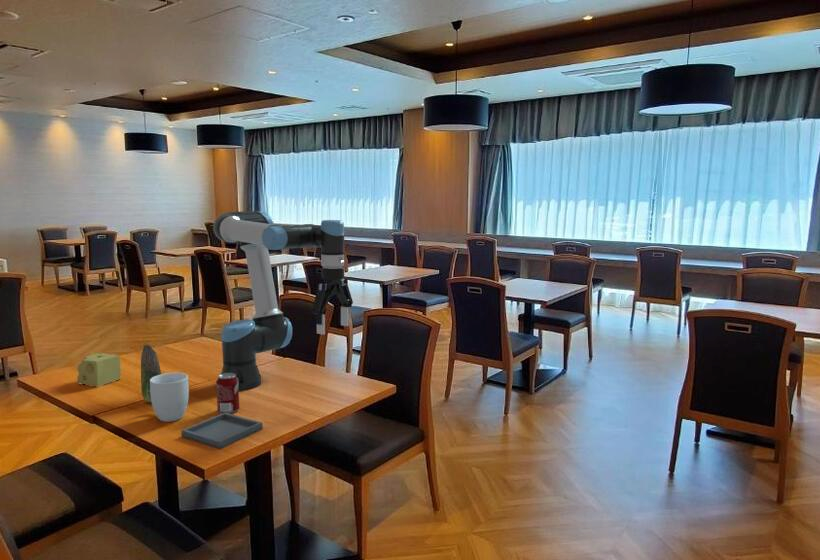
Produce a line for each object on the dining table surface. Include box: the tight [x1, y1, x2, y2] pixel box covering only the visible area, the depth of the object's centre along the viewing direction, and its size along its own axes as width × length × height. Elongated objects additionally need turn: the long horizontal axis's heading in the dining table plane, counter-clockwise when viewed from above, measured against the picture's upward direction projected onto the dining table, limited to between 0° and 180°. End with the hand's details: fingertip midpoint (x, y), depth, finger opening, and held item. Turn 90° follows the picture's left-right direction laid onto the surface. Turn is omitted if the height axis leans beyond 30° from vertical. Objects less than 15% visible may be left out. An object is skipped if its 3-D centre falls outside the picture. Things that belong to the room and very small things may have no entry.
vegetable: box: [140, 344, 162, 404], centre depth 190 cm, size 6×6×20 cm
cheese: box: [76, 352, 122, 388], centre depth 210 cm, size 10×11×10 cm
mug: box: [150, 372, 190, 423], centre depth 177 cm, size 15×11×13 cm
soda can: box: [215, 373, 240, 414], centre depth 182 cm, size 7×7×12 cm
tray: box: [180, 413, 263, 450], centre depth 165 cm, size 16×16×2 cm
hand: (333, 329), depth 189 cm, fingers open, 13 cm apart
